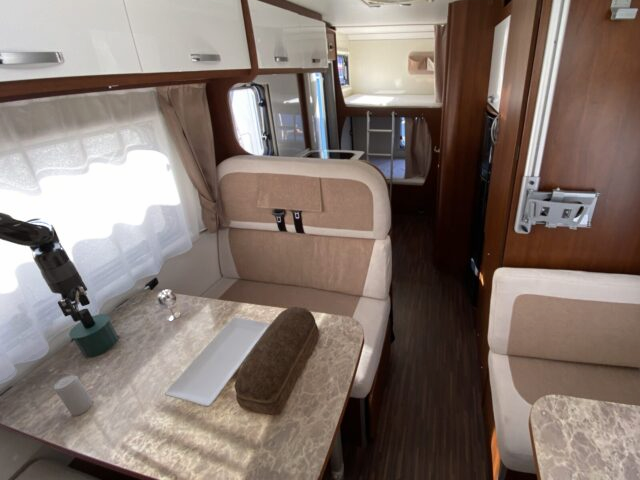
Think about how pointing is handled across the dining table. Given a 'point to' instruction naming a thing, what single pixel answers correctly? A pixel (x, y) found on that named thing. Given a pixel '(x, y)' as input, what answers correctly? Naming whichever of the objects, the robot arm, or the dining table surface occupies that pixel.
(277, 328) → the bread
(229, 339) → the tray
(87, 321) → the lid
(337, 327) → the dining table surface
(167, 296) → the wineglass
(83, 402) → the beverage can
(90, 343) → the pot
